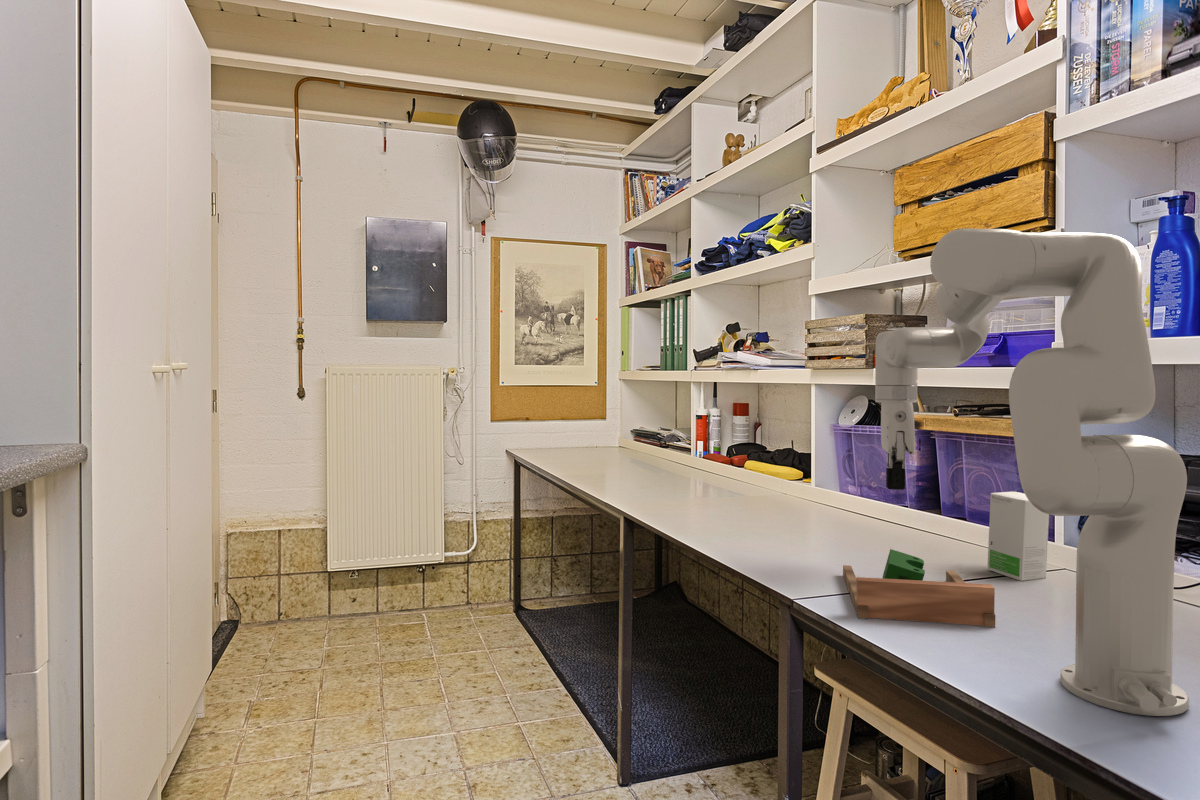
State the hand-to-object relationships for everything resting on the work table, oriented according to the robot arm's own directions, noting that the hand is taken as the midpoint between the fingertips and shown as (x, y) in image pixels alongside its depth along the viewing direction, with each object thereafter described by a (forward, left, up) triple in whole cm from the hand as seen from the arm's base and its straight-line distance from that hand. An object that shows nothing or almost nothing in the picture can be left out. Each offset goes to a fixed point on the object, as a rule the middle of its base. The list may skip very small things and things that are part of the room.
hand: (895, 488), depth 138 cm
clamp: (-9, 0, -17) cm, 19 cm away
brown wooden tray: (-15, 0, -17) cm, 23 cm away
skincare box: (+5, -23, -17) cm, 29 cm away
